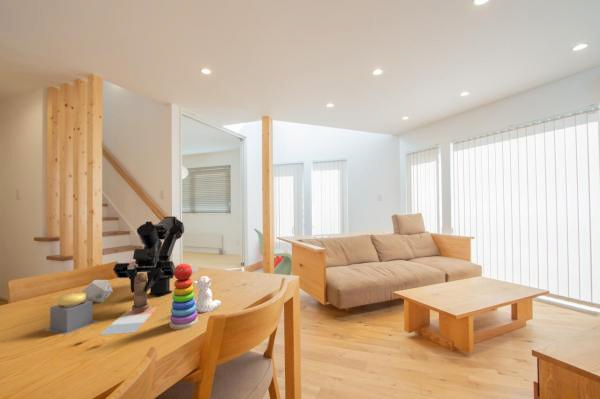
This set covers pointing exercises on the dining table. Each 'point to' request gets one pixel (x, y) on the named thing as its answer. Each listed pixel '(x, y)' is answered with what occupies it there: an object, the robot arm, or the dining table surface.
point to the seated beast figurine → (205, 296)
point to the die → (98, 291)
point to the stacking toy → (183, 299)
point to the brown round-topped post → (140, 293)
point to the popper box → (70, 317)
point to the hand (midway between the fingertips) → (138, 291)
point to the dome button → (71, 299)
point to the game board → (129, 321)
